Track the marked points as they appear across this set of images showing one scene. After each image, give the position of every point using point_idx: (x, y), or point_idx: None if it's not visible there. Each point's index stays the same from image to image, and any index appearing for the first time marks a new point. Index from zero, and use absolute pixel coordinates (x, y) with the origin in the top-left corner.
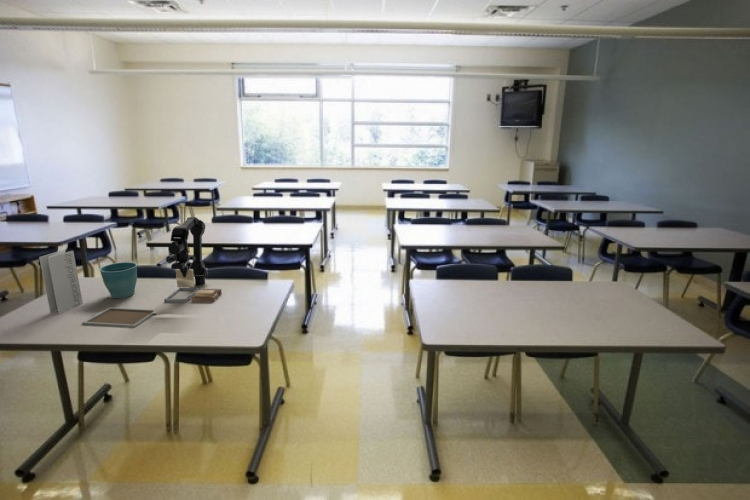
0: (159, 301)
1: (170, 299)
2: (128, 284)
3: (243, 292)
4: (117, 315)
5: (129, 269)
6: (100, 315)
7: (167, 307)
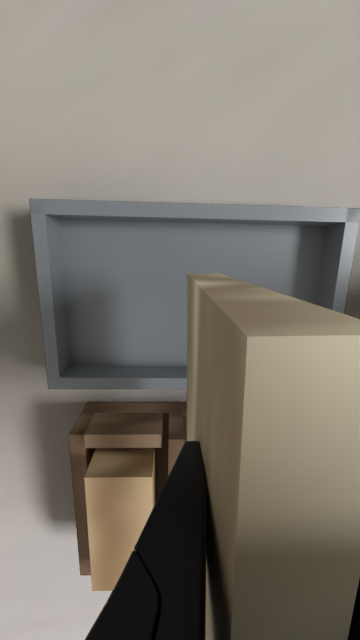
0: (118, 122)
1: (37, 259)
2: None
3: None
4: None
5: None
6: None
7: (2, 255)
